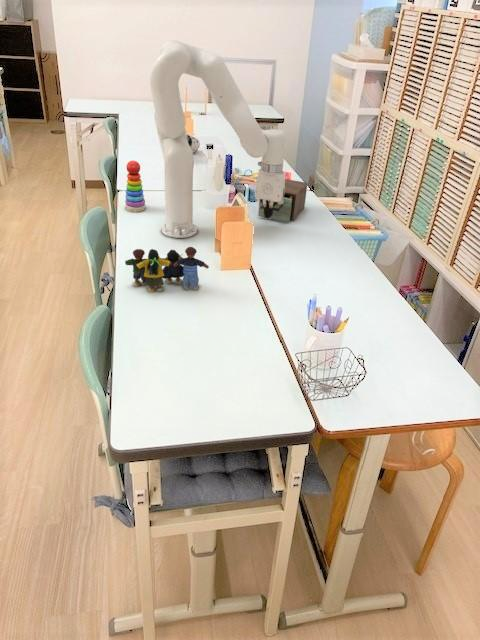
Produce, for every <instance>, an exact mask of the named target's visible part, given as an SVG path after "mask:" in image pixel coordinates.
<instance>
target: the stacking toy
mask: <svg viewBox="0 0 480 640" xmlns="http://www.w3.org/2000/svg"><path fill="white" fill-rule="evenodd" d="M125 169H126V171H127V172H128V173H127V175H126V179H127V180H126V190H125V201H124V202H125V204H124V208H125V210H127V211H128V212H131V213H138V212H142V211H144V210H145V209H146V207H147V206H146V200H145V195H144V189H143V184H142V182H143V180H142V179H141V174H140V171H141V165H140V163H139V162H138V161H137V160H130V161H128V162H127V164H126V168H125Z"/></svg>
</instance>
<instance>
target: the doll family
mask: <svg viewBox="0 0 480 640" xmlns="http://www.w3.org/2000/svg"><path fill="white" fill-rule="evenodd" d="M184 253H185V254H186V256H187V257H183V255H184ZM184 253H181V254H179V252H177V251H176V250H175V249H170V250H169V251H168V252H167V253H166V257H160V254H159V253H158V250H157V249H153V248H151V249H150V250H148V255H147V258H144V256H145V254H146V252H145V250H144V249H141V248H136V249H135V250H133V251H132V255H133V257H134V258H129V259H127V260H125V261H124V263H125V265H126V266H132V274H133V275H132V278H133V279H134V284H133V286H134V287H140V285H141V286H147V289H148V291H149V292H155V290H156V291H157V292H162V291H163V290H164V288H163V286H164V284H165V282H166V283H167V284H170V285H171V284H174V283H175V284H176V285H180V284H181V283H183V285H182V288H183V289H184V290H190V287H191V288H192V290H197V289H198V288H199V287H200V285H199V281H200V278H199V275H198V274H199V273H198V272H199V271H198V267H200V268H202V267H203V268H204V269H206V270H207V269H210V266H209V265H208V264H207V263H205V262H204V261H203V260H201V259H199V258H196V257H195V256H196V254H197V249H196V248H195V247H193V246H188V247H187V248H185V250H184ZM173 278H174V279H175V280H173ZM140 279H141V281H140ZM164 279H165V282H164ZM173 281H174V283H173Z"/></svg>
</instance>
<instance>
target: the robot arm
mask: <svg viewBox="0 0 480 640" xmlns="http://www.w3.org/2000/svg"><path fill="white" fill-rule="evenodd" d="M183 74H184V75H188V76H191V77H195V78H199V79H201V80H202V82H203V84H204V85H205V87H206V89H207V91H208V92H209V94H210V96H211V97H212V99H213V101H214V103H215V104H216V106H217V109H218V110H219V111H220V113H221V114H222V116H223V118H224V119H225V120H226V121H227V123H228V124H229V125H230V127H231V128H232V129H233V131H234V132H235V134H236V135H237V137H238V139H239V144H240V146H241V147H242V149H243V150H244V151H245V152H246V153H247V155H248V156H249V157H251V158H254V159H258V158H261V160H260V161H258V162H257V166H259V167H260V169H258V172H257V176H256V180H255V187H254V198H255V200H257V201H258V202H259V201H261V203H262V204H263V207H264V215H265V217H264V218H265V219H271V218H270V217H271V216H272V215H273V207H274V206H275V205H276V204H283V203H284V199H283V198H284V194H285V179H286V177H285V171H284V161H285V151H286V149H285V148H286V140H287V139H286V138H287V135H286V132H285V131H284V130H282V129H278V128H277V129H276V128H270V129H263V128H261V126H260V125H259V122H258V121H257V120H256V117H255V116H254V114H253V112H252V111H251V109H250V107H249V105H248V103H247V100H246V99H245V97H244V96H243V94H242V92H241V90H240V89H239V86H238V85H237V82H236V81H235V79H234V77H233V75H232V73H231V72H230V70H229V68H228V66H227V64H226V62H225V61H224V60H223V58H222V57H221V56H220V55H218V54H217V53H216V52H214V51H211V50H208V49H203V48H202V47H198V46H195V45H191V44H189V43H185V42H183V41H179V40H175V39H171V40H167V41H166V42H164V43H163V44H162V46H161V48H160V51H159V56H158V57H157V59H156V60H155V62H154V63H153V66H152V68H151V71H150V75H149V76H150V78H149V83H150V92H151V96H152V102H153V107H154V114H153V115H154V122H155V123H154V124H155V127H156V132H157V135H158V140H159V144H160V148H161V153H162V156H163V161H164V162H163V163H164V201H165V202H164V203H165V207H164V208H165V224H163V225H162V227H161V232H162V234H163V235H165V236H166V237H169V238H175V239H185V238H190V237H193V236H195V235H196V234H197V232H198V227H197V226H196V225H195V224H194V213H193V212H194V209H193V208H194V187H193V186H194V167H195V160H194V159H195V157H194V153H193V152H192V150H191V148H190V146H189V144H188V140H187V135H188V134H187V130H186V125H187V124H186V123H187V122H186V116H185V114H184V109H183V105H182V100H181V93H180V87H179V85H180V84H179V83H180V79H181V77H182V76H183ZM269 201H270V205H269Z"/></svg>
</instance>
